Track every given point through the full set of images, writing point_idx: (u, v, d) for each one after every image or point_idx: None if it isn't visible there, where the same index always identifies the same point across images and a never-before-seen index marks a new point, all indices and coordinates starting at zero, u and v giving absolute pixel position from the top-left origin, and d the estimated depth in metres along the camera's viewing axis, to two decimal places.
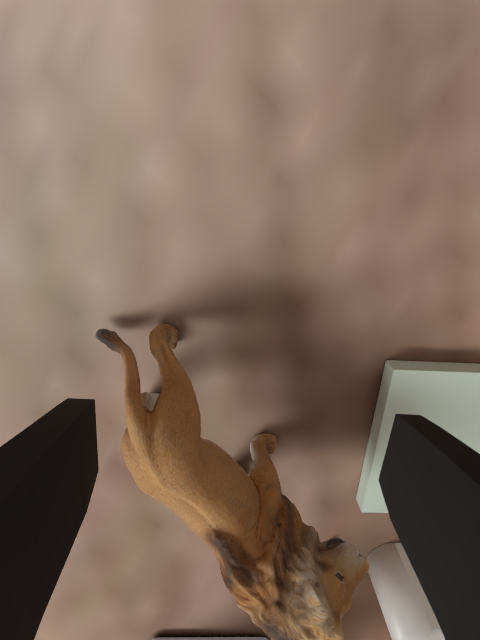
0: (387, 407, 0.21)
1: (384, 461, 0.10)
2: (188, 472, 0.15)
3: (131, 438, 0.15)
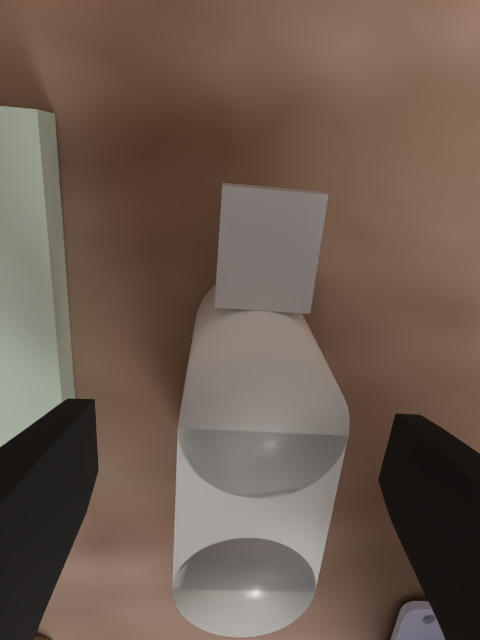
0: None
1: (384, 461, 0.10)
2: None
3: None
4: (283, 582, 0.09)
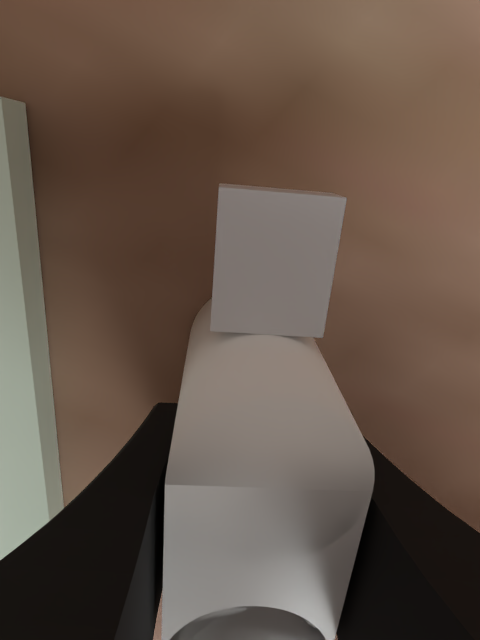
0: None
1: None
2: None
3: None
4: None
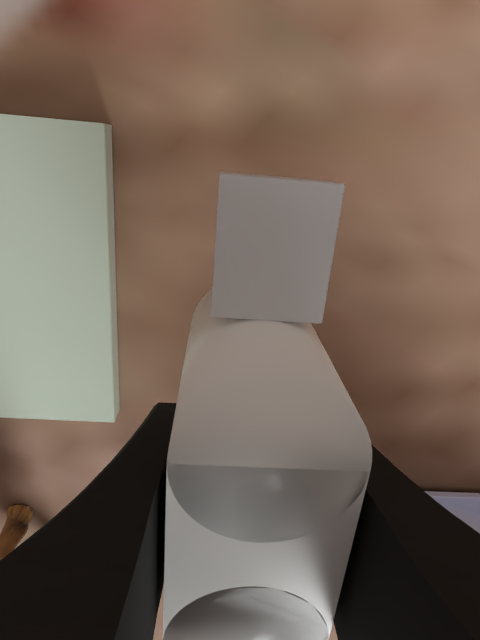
0: None
1: None
2: None
3: None
4: (291, 634, 0.08)
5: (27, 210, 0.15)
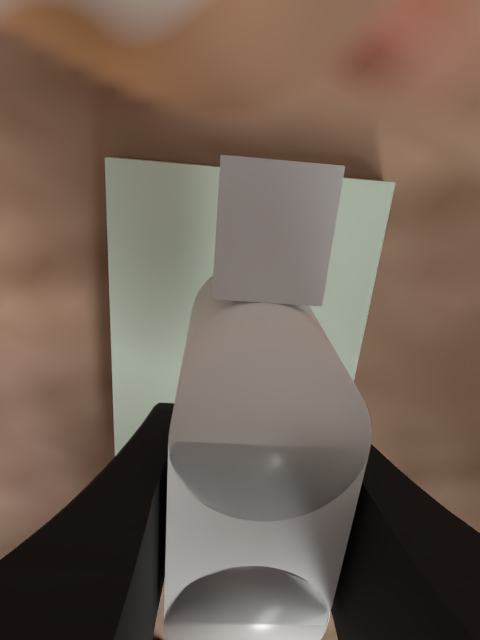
0: None
1: None
2: None
3: None
4: (292, 616, 0.08)
5: None
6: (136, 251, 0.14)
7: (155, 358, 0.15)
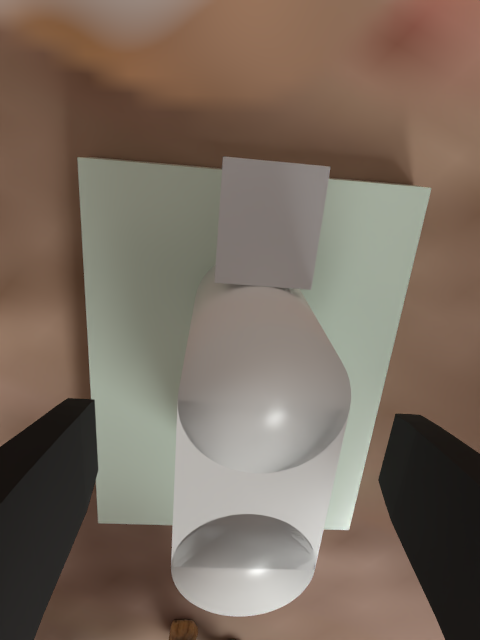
0: (158, 522, 0.15)
1: (384, 461, 0.10)
2: None
3: None
4: (283, 560, 0.09)
5: (308, 293, 0.12)
6: (118, 270, 0.11)
7: (142, 395, 0.13)
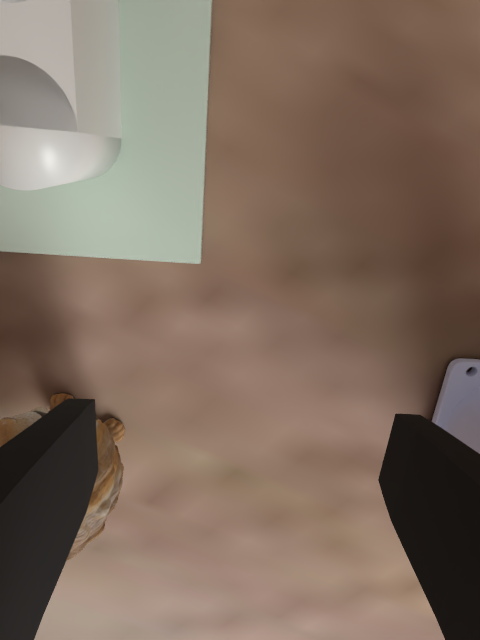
0: (23, 249, 0.16)
1: (384, 461, 0.10)
2: None
3: None
4: (47, 118, 0.10)
5: None
6: None
7: None
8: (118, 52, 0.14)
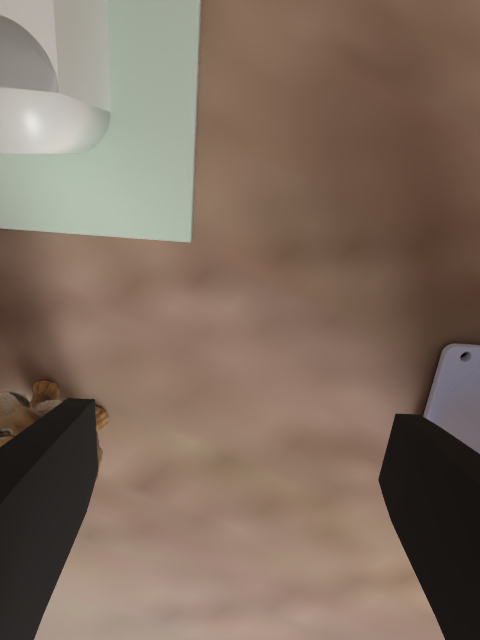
0: (11, 226, 0.16)
1: (384, 461, 0.10)
2: None
3: None
4: (28, 78, 0.10)
5: None
6: None
7: None
8: (106, 22, 0.14)
